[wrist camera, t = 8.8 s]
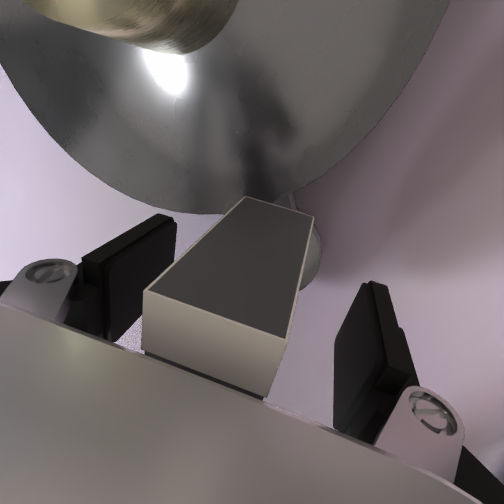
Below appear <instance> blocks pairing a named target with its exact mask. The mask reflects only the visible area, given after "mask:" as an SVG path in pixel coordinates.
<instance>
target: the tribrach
mask: <svg viewBox="0 0 504 504" xmlns="http://www.w3.org/2000/svg"><path fill="white" fill-rule="evenodd" d="M449 1H450V0H0V64H1V65H2V67H3V69H4V70H5V72H6V74H7V76H8V77H9V79H10V81H11V82H12V84H13V86H14V88H15V89H16V91H17V92H18V94H19V95H20V97H21V98H22V99H23V101H24V102H25V104H26V105H27V107H28V108H29V110H30V111H31V112H32V114H33V115H34V116H35V118H36V119H37V120H38V121H39V123H40V124H41V125H42V126H43V127H44V129H45V130H46V131H47V132H48V133H49V135H50V136H51V137H52V138H53V139H54V140H55V141H56V142H57V143H58V144H59V145H60V146H61V147H62V148H63V149H64V150H65V151H66V152H67V153H68V154H69V155H70V156H71V157H72V158H73V159H74V160H75V161H77V162H78V163H79V164H80V165H81V166H83V167H84V168H85V169H86V170H87V171H89V172H90V173H91V174H93V175H94V176H96V177H97V178H99V179H100V180H102V181H103V182H104V183H106V184H107V185H109V186H110V187H112V188H114V189H116V190H118V191H120V192H122V193H124V194H125V195H127V196H129V197H131V198H133V199H136V200H139V201H141V202H144V203H146V204H149V205H152V206H154V207H159V208H163V209H167V210H171V211H175V212H182V213H191V214H224V215H225V214H226V213H227V212H228V211H229V210H230V209H231V208H233V207H234V206H235V205H236V204H237V203H238V202H239V201H240V200H241V199H242V198H243V197H244V196H247V197H250V198H254V199H257V200H260V201H264V202H267V203H270V204H274V205H277V206H281V207H284V208H287V209H291V210H294V211H297V212H301V213H303V212H302V211H300V210H299V209H297V207H296V203H295V199H294V195H293V193H294V192H296V191H298V190H299V189H301V188H303V187H304V186H306V185H307V184H309V183H311V182H312V181H314V180H315V179H317V178H319V177H320V176H322V175H323V174H325V173H326V172H327V171H328V170H329V169H331V168H332V167H333V166H334V165H336V164H337V163H338V162H339V161H340V160H342V159H343V158H344V157H345V156H347V155H348V154H349V153H350V152H351V151H352V150H353V149H354V148H355V147H356V146H357V145H358V144H359V143H360V142H361V141H362V140H363V139H364V138H365V136H366V135H367V134H368V133H369V132H370V131H371V130H372V129H373V128H374V127H375V126H376V125H377V123H378V122H379V121H380V119H381V118H382V117H383V116H384V114H385V113H386V112H387V110H388V109H389V108H390V107H391V105H392V104H393V103H394V101H395V100H396V99H397V97H398V96H399V95H400V93H401V92H402V90H403V89H404V87H405V85H406V84H407V82H408V80H409V79H410V77H411V76H412V74H413V72H414V71H415V69H416V67H417V66H418V64H419V62H420V61H421V59H422V58H423V56H424V54H425V52H426V50H427V48H428V46H429V44H430V42H431V40H432V38H433V36H434V34H435V32H436V29H437V27H438V25H439V23H440V21H441V19H442V17H443V15H444V13H445V11H446V9H447V7H448V4H449ZM304 214H305V213H304ZM320 255H321V240H320V236H319V233H318V231H317V228H316V226H315V225H314V223H313V227H312V232H311V236H310V241H309V246H308V250H307V255H306V260H305V264H304V269H303V274H302V278H301V283H300V288H299V291H300V290H302V289H304V288H305V287H306V286H307V285H308V284H309V283H310V282H311V281H312V280H313V278H314V277H315V275H316V273H317V271H318V267H319V263H320Z"/></svg>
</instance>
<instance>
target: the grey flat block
mask: <svg viewBox="0 0 504 504" xmlns="http://www.w3.org/2000/svg"><path fill="white" fill-rule="evenodd" d="M314 218H315V217H314V216H311V215H308V214H304V213H301V212H297V211H294V210H291V209H287V208H284V207H281V206H277V205H274V204H270V203H267V202H264V201H260V200H257V199H254V198H250V197H247V196H244V197H243V198H242V199H241V200H240V201H239V202H238V203H237V204H236V205H235V206H234V207H233V208H231V209H230V210H229V211H228V212H227V213H226V214H225V215H224V216H223V217H222V218H221V219H220V220H219V221H218V222H216V223H215V224H214V225H213V226H212V227H211V228H210V229H209V230H208V231H207V232H206V233H205V234H204V235H203V236H201V237H200V238H199V239H198V240H197V241H196V242H195V243H194V244H193V245H192V246H191V247H190V248H189V249H188V250H186V251H185V252H184V253H183V254H182V255H181V256H180V257H179V258H178V259H177V260H176V261H175V262H174V263H172V264H171V265H170V266H169V267H168V268H167V269H166V270H165V271H164V272H163V273H162V274H161V275H160V276H159V277H157V278H156V279H155V280H154V281H153V282H152V283H151V284H150V285H149V286H148V287H147V288H146V289H145V290H144V291H143V311H142V338H141V349H142V350H145V355H146V356H149V357H151V358H154V359H156V360H159V361H162V362H164V363H167V364H169V365H172V366H174V367H177V368H180V369H182V370H185V371H187V372H190V373H192V374H195V375H198V376H200V377H203V378H205V379H208V380H210V381H213V382H215V383H218V384H221V385H223V386H226V387H228V388H231V389H233V390H236V391H238V392H241V393H243V394H246V395H249V396H251V397H254V398H256V399H259V400H261V401H262V400H263V398H264V397H266V398H267V396H268V393H269V391H270V388H271V385H272V383H273V380H274V377H275V375H276V372H277V370H278V367H279V364H280V362H281V359H282V356H283V354H284V351H285V349H286V346H287V343H288V339H289V335H290V330H291V325H292V321H293V316H294V311H295V307H296V302H297V297H298V292H299V288H300V283H301V278H302V274H303V269H304V264H305V260H306V255H307V250H308V246H309V241H310V236H311V232H312V227H313V222H314Z"/></svg>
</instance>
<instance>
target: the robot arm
mask: <svg viewBox="0 0 504 504" xmlns="http://www.w3.org/2000/svg"><path fill="white" fill-rule="evenodd" d="M176 233H177V223H176V222H174V219H173V218H172V217H169V216H166V215H163V214H159V213H158V214H156V215H154V216H152V217H151V218H149V219H147V220H145V221H144V222H142V223H140V224H139V225H137V226H135V227H133V228H132V229H130V230H128V231H126V232H125V233H123V234H121V235H119V236H118V237H116V238H114V239H113V240H111V241H109V242H107V243H106V244H104V245H102V246H100V247H99V248H97V249H95V250H94V251H92V252H90V253H88V254H87V255H85V256H83V257H81V258H82V262H81V263H79V264H78V265H75V264H74V263H72V262H70V261H67V260H63V259H45V260H40V261H36V262H33V263H31V264H29V265H27V266H25V267H24V268H23V269H22V270H21V271H20V272H19V273H18V274H17V276H16V277H15V278H14V280H11V281H1V282H0V504H504V485H503V484H502V483H501V482H500V481H499V480H498V479H497V478H496V477H495V476H494V475H493V474H492V473H491V472H490V471H489V470H488V469H487V468H486V467H485V466H484V465H483V464H482V463H481V462H480V461H479V460H478V459H477V458H475V457H474V456H473V455H472V454H471V453H470V452H469V451H468V450H467V449H466V448H465V447H464V446H463V445H462V444H463V440H464V436H465V434H464V426H463V423H462V421H461V419H460V417H459V416H458V414H457V413H456V411H455V410H454V409H453V408H452V407H451V405H450V404H449V403H448V402H447V401H445V400H444V399H443V398H442V397H440V396H439V395H438V394H436V393H434V392H432V391H431V390H429V389H426V388H423V387H420V385H419V381H418V378H417V374H416V371H415V368H414V364H413V361H412V358H411V354H410V351H409V347H408V344H407V341H406V337H405V334H404V331H403V329H402V328H400V327H399V326H398V323H397V319H396V315H395V312H394V308H393V305H392V301H391V298H390V294H389V290H388V287H387V286H386V285H383V284H380V283H377V282H374V281H369V282H368V284H367V283H363V284H362V285H361V287H360V289H359V291H358V293H357V295H356V297H355V299H354V301H353V303H352V305H351V307H350V309H349V311H348V314H347V316H346V318H345V320H344V322H343V324H342V326H341V328H340V330H339V332H338V334H337V336H336V339H335V344H334V401H333V427H334V429H336V430H338V431H336V430H334V429H332V428H329V427H327V426H324V425H322V424H319V423H317V422H314V421H312V420H309V419H306V418H304V417H301V416H299V415H296V414H294V413H291V412H289V411H286V410H284V409H281V408H279V407H276V406H274V405H271V404H269V403H266V402H264V401H261V400H259V399H256V398H254V397H251V396H249V395H246V394H243V393H241V392H238V391H236V390H233V389H231V388H228V387H226V386H223V385H221V384H218V383H215V382H213V381H210V380H208V379H205V378H203V377H200V376H198V375H195V374H192V373H190V372H187V371H185V370H182V369H180V368H177V367H174V366H172V365H169V364H167V363H164V362H162V361H159V360H156V359H154V358H151V357H149V356H146V355H144V354H141V353H138V352H136V351H133V350H131V349H128V348H125V347H123V346H120V345H118V344H115V343H112V342H116V341H117V340H118V339H119V338H120V337H121V336H122V335H123V334H124V333H125V332H126V331H127V330H128V329H129V328H130V327H131V326H132V325H133V324H134V322H135V321H136V320H137V319H138V318H139V317H140V316H141V315H142V311H143V291H144V290H145V289H146V288H147V287H148V286H149V285H150V284H151V283H152V282H153V281H154V280H155V279H156V278H157V277H159V276H160V275H161V274H162V273H163V272H164V271H165V270H166V269H167V268H168V267H169V266H170V265H171V264H172V263H174V254H175V244H176Z"/></svg>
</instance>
